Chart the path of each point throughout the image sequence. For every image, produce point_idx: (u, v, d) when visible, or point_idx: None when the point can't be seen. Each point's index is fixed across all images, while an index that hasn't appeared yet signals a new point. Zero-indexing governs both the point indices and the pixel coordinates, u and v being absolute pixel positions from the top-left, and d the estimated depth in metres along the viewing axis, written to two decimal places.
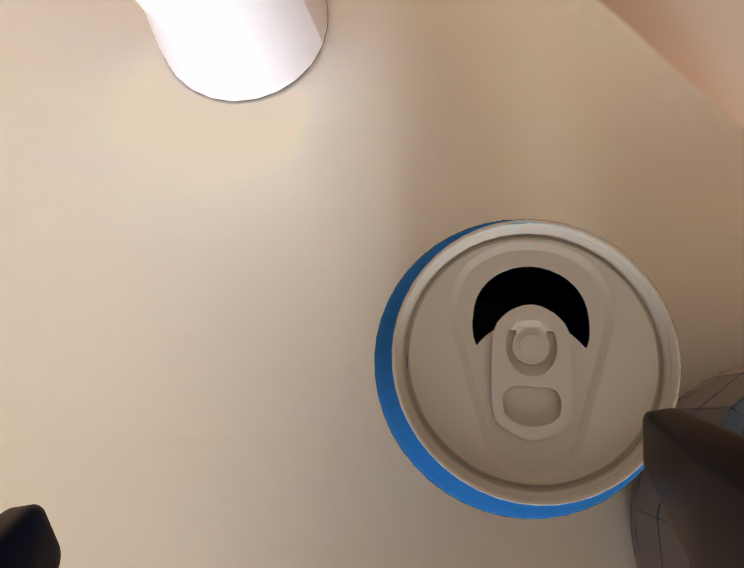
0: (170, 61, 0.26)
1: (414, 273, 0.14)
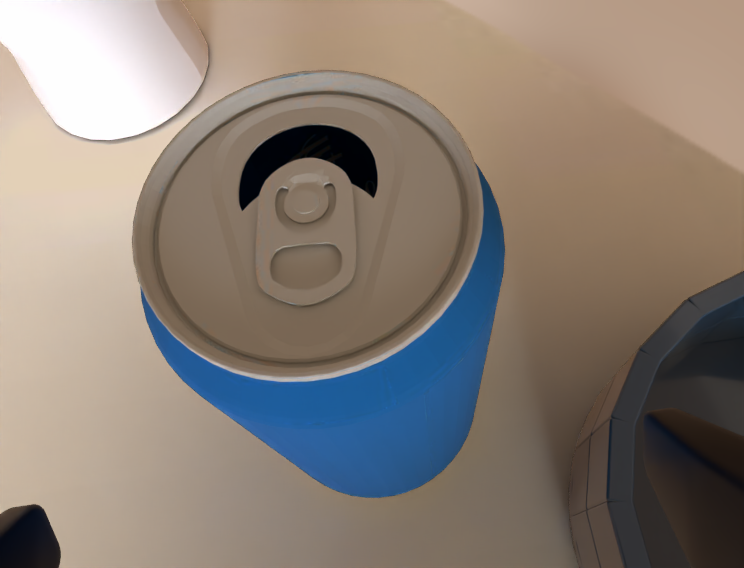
0: (45, 105, 0.26)
1: None
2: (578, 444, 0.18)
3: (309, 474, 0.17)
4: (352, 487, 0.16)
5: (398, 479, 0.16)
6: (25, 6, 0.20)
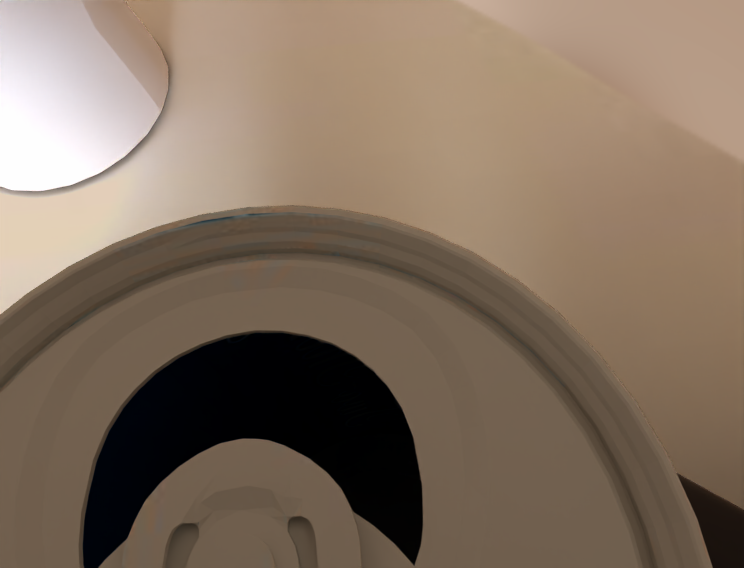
0: None
1: None
2: None
3: None
4: None
5: None
6: None
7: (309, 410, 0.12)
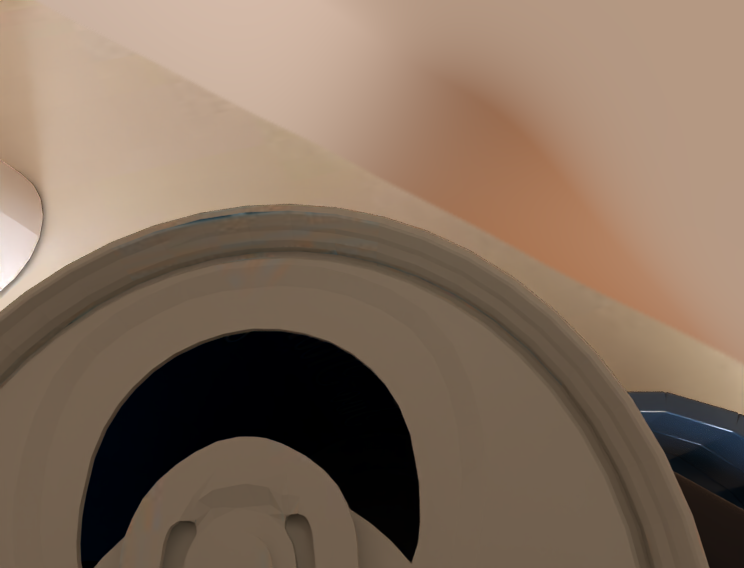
0: None
1: None
2: None
3: None
4: None
5: None
6: None
7: (308, 410, 0.12)
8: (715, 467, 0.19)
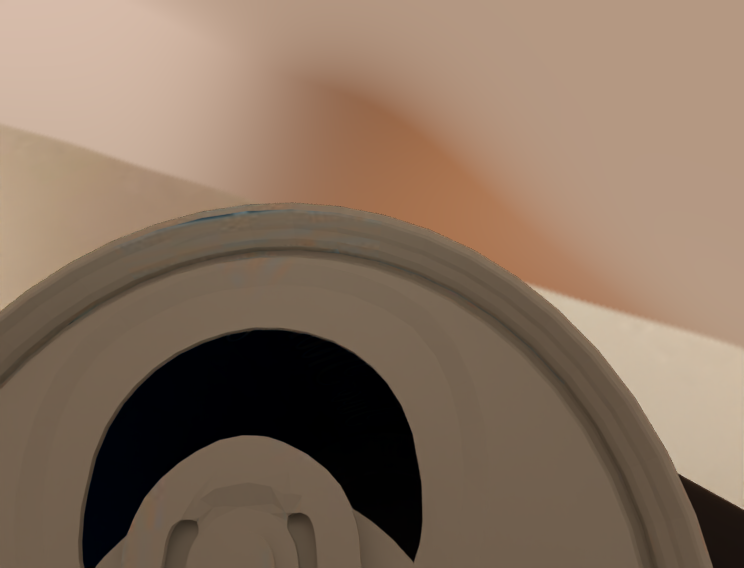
0: None
1: None
2: None
3: None
4: None
5: None
6: None
7: (308, 410, 0.12)
8: None
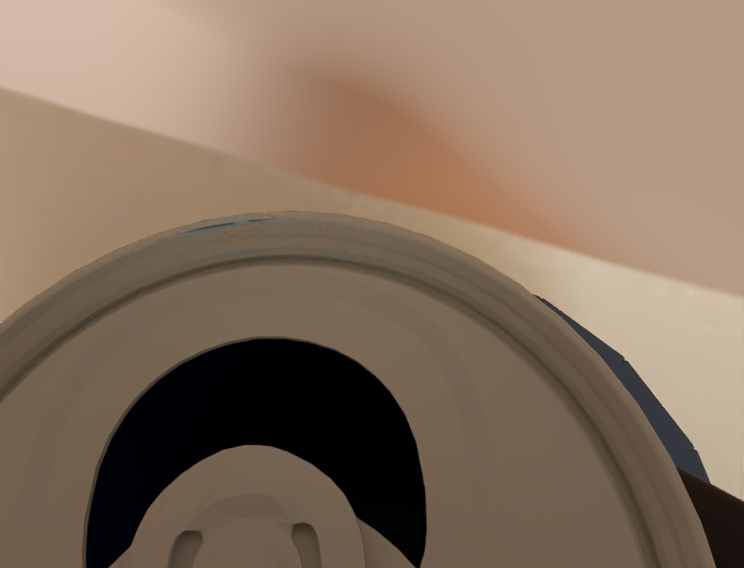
0: None
1: None
2: None
3: None
4: None
5: None
6: None
7: (310, 415, 0.12)
8: None
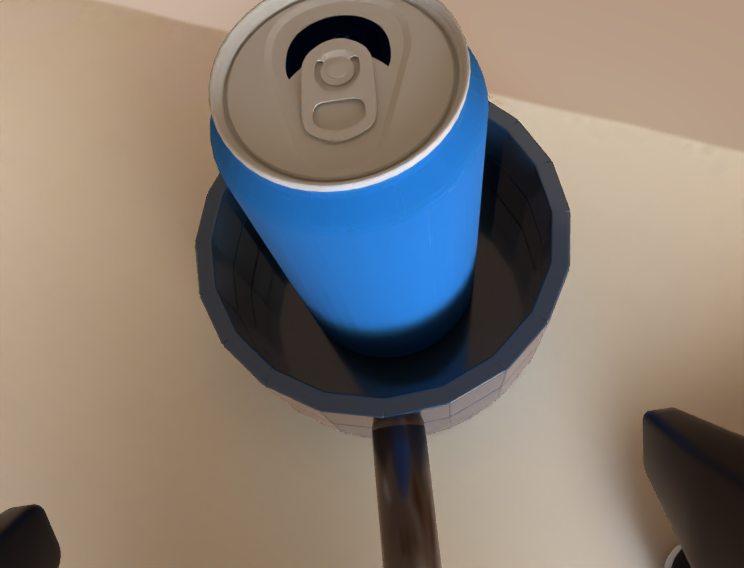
0: None
1: None
2: None
3: (336, 331, 0.21)
4: (372, 337, 0.20)
5: (409, 327, 0.19)
6: None
7: None
8: None
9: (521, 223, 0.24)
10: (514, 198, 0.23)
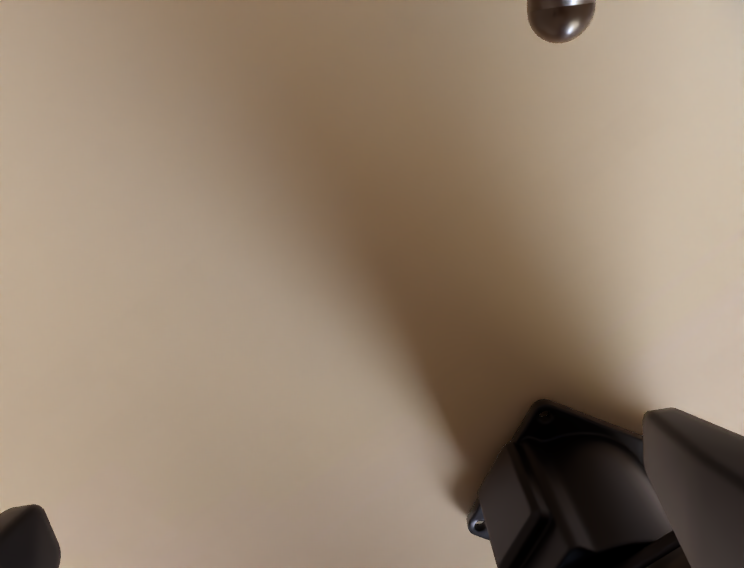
0: None
1: None
2: None
3: None
4: None
5: None
6: None
7: None
8: None
9: None
10: None
